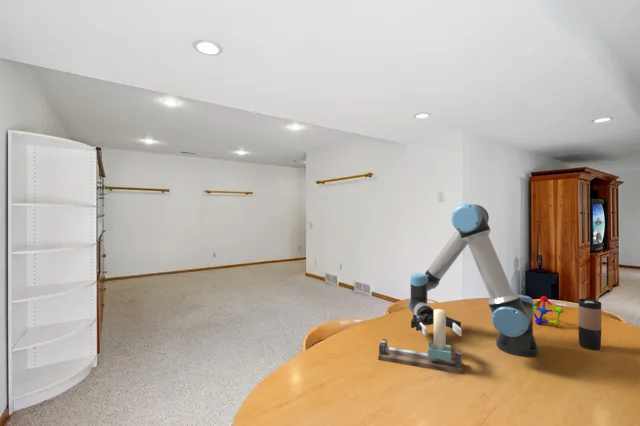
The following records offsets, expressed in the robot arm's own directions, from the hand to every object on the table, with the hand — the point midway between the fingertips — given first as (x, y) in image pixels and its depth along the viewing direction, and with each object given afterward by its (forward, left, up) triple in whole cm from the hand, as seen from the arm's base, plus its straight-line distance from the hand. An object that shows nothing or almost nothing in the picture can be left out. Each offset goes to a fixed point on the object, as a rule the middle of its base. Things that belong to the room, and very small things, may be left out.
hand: (443, 332), depth 117 cm
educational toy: (-49, -70, -14) cm, 87 cm away
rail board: (+9, -3, -14) cm, 16 cm away
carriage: (+1, -3, -10) cm, 11 cm away
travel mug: (-59, -44, -14) cm, 75 cm away
